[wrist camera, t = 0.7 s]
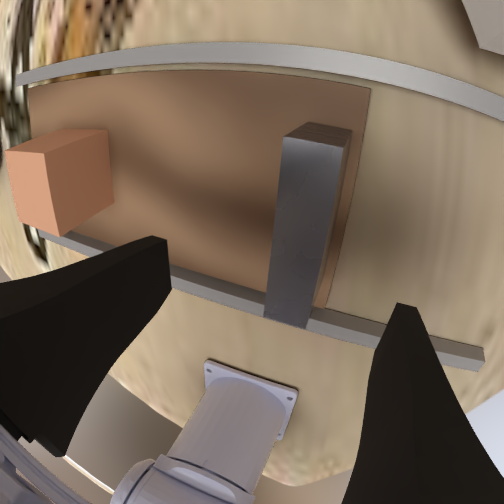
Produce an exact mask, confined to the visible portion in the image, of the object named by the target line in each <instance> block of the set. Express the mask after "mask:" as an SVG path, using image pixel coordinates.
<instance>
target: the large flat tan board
mask: <svg viewBox="0 0 504 504" xmlns="http://www.w3.org/2000/svg"><path fill="white" fill-rule="evenodd" d="M28 95H29V110H30V122H31V132H32V139H35V138H37V137H40V136H43V135H46V134H48V133H51V132H54V131H57V130H60V129H96V130H108V142H109V156H110V167H111V177H112V186H113V195H114V203H113V204H112V205H110V206H108V207H107V208H105V209H104V210H102V211H100V212H99V213H97V214H95V215H94V216H92V217H91V218H89V219H87V220H86V221H84V222H83V223H81V224H80V225H78V226H76V227H75V228H73V229H72V231H75V232H77V233H80V234H83V235H86V236H89V237H92V238H95V239H98V240H101V241H104V242H107V243H110V244H112V245H115V246H118V247H119V246H121V245H124V244H127V243H129V242H132V241H135V240H138V239H141V238H144V237H147V236H151V235H153V236H157V237H160V238H164V239H167V243H168V255H169V263H171V264H174V265H177V266H180V267H183V268H186V269H190V270H193V271H196V272H199V273H202V274H206V275H209V276H212V277H215V278H219V279H222V280H225V281H229V282H232V283H235V284H239V285H242V286H245V287H249V288H252V289H255V290H259V291H262V292H266V296H265V305H264V313H263V317H266V318H269V319H272V320H275V321H279V322H282V323H285V324H289V325H292V326H296V327H299V328H303V329H306V327H307V324H308V321H309V318H310V315H311V313H312V310H313V307H314V306H315V307H318V308H322V309H325V305H326V302H327V298H328V295H329V291H330V287H331V283H332V279H333V276H334V272H335V268H336V264H337V260H338V256H339V252H340V248H341V243H342V239H343V235H344V231H345V226H346V222H347V217H348V213H349V208H350V203H351V199H352V194H353V189H354V184H355V179H356V174H357V169H358V163H359V158H360V152H361V147H362V141H363V135H364V129H365V123H366V116H367V110H368V103H369V96H370V88H365V87H360V86H355V85H350V84H345V83H339V82H333V81H327V80H321V79H314V78H307V77H299V76H291V75H282V74H271V73H259V72H245V71H223V70H168V71H147V72H133V73H121V74H111V75H102V76H94V77H87V78H80V79H73V80H67V81H61V82H56V83H51V84H46V85H41V86H36V87H32V88H28Z"/></svg>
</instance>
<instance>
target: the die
mask: <svg viewBox="0 0 504 504" xmlns="http://www.w3.org/2000/svg"><path fill="white" fill-rule="evenodd" d="M462 2H463V5H464V7H465V10H466V12H467V14H468V17H469V19H470V22H471V25H472V27H473V30H474V33H475V36H476V38H477V41H478V44H479V47H480V48H481V49H485V50H488V51H492V52H495V53H498V54H502V55H504V0H462Z"/></svg>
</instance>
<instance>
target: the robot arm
mask: <svg viewBox="0 0 504 504" xmlns="http://www.w3.org/2000/svg"><path fill="white" fill-rule="evenodd" d="M171 290H172V285H171V275H170V265H169V255H168V243H167V239H164V238H160V237H157V236H153V235H151V236H147V237H144V238H141V239H138V240H135V241H132V242H129V243H127V244H124V245H121V246H119V247H116V248H113V249H111V250H108V251H106V252H103V253H101V254H98V255H95V256H93V257H90V258H87V259H85V260H82V261H79V262H76V263H74V264H71V265H68V266H65V267H62V268H59V269H56V270H53V271H50V272H46V273H43V274H39V275H36V276H32V277H28V278H23V279H18V280H13V281H9V282H4V283H0V504H53V503H52V502H51V501H50V500H49V498H50V499H51V500H52V501H53V502H55V503H56V504H92V503H90V502H89V501H88V500H86V499H85V498H83V497H82V496H81V495H79V494H78V493H77V492H75V491H74V490H72V489H71V488H70V487H68V486H67V485H66V484H65V483H64V482H62V481H61V480H60V479H59V478H57V477H56V476H55V475H54V474H53V473H51V472H50V471H49V470H48V469H47V468H46V467H44V466H43V465H42V464H41V463H40V462H39V461H38V460H37V459H35V458H34V457H33V456H32V455H31V454H30V453H29V452H28V451H27V450H26V449H25V448H23V446H22V445H20V444H19V443H18V440H19V438H20V437H21V436H23V438H24V439H26V440H27V441H28V442H29V443H31V442H32V441H33V440H34V439H35V440H36V441H37V442H38V443H40V444H41V445H42V446H43V447H44V448H45V449H46V450H48V451H49V452H50V453H51V454H52V455H54V456H55V457H63V456H65V454H66V451H67V449H68V446H69V444H70V441H71V439H72V437H73V434H74V432H75V430H76V428H77V425H78V424H79V421H80V419H81V417H82V416H83V413H84V412H85V410H86V408H87V406H88V404H89V402H90V400H91V399H92V397H93V395H94V394H95V392H96V390H97V389H98V387H99V385H100V384H101V382H102V381H103V379H104V378H105V376H106V374H107V373H108V371H109V370H110V368H111V367H112V366H113V364H114V363H115V362H116V360H117V359H118V358H119V357H120V355H121V354H122V353H123V352H124V351H125V350H126V348H127V347H128V346H129V345H130V344H131V342H132V341H133V340H134V339H135V338H136V337H137V336H138V334H139V333H140V332H141V331H142V330H143V329H144V327H145V326H146V325H147V324H148V323H149V322H150V320H151V319H152V318H153V317H154V316H155V314H156V313H157V312H158V310H159V309H160V307H161V306H162V304H163V303H164V301H165V300H166V298H167V296H168V295H169V293H170V292H171ZM204 375H205V388H206V392H205V394H204V395H203V397H202V399H201V400H200V402H199V404H198V405H197V407H196V408H195V410H194V412H193V413H192V415H191V417H190V418H189V420H188V422H187V423H186V425H185V426H184V428H183V430H182V431H181V433H180V435H179V436H178V438H177V439H176V441H175V442H174V444H173V446H172V447H171V449H170V450H169V452H168V454H167V455H166V456H164V455H163V454H160V456H159V457H158V459H157V461H154V460H153V459H147V460H145V461H140V462H138V463H136V464H135V465H134V466H133V467H132V468H131V469H130V470H129V471H128V472H127V474H126V475H125V476H124V477H123V479H122V480H121V482H120V483H119V485H118V486H117V488H116V490H115V492H114V494H113V496H112V499H111V501H110V504H252V503H253V501H254V499H255V496H253V495H252V494H253V492H254V490H255V487H256V485H257V483H258V481H259V479H260V476H261V474H262V472H263V469H264V467H265V465H266V463H267V460H268V458H269V456H270V453H271V451H272V448H273V446H274V444H275V441H276V440H282V438H283V435H284V432H285V430H286V427H287V424H288V422H289V419H290V416H291V413H292V410H293V407H294V405H295V402H296V399H297V396H298V392H297V390H295V389H293V388H289V387H286V386H283V385H280V384H277V383H273V382H270V381H267V380H264V379H261V378H258V377H255V376H252V375H249V374H247V373H244V372H241V371H238V370H235V369H232V368H230V367H227V366H224V365H221V364H219V363H216V362H213V361H211V360H206V361H205V363H204ZM16 468H17V469H18V470H19V471H20V472H21V473H22V474H23V475H25V477H26V478H28V479H29V480H30V481H31V482H32V483H33V484H34V485H35V486H36V487H37V488H38V489H39V490H41V491H42V492H43V493H44V494H45V495H47V496H45V495H44V494H43V493H42V492H40V491H39V490H38V489H37V488H35V487H34V486H32V485H31V484H30V483H29V482H27V481H26V480H25V479H23V478H22V477H21V476H19V475H18V474H17V473H16ZM48 497H49V498H48ZM342 504H504V478H503V476H502V475H501V474H500V472H499V471H498V469H497V468H496V466H495V465H494V463H493V462H492V460H491V459H490V457H489V455H488V454H487V452H486V450H485V449H484V447H483V446H482V444H481V442H480V441H479V439H478V437H477V436H476V434H475V432H474V431H473V429H472V427H471V425H470V423H469V421H468V419H467V417H466V415H465V414H464V412H463V410H462V408H461V406H460V404H459V402H458V400H457V398H456V396H455V394H454V392H453V390H452V388H451V385H450V383H449V381H448V379H447V377H446V375H445V373H444V370H443V368H442V366H441V363H440V361H439V359H438V356H437V354H436V352H435V349H434V347H433V345H432V342H431V340H430V337H429V335H428V333H427V330H426V328H425V325H424V323H423V321H422V318H421V316H420V314H419V312H418V309H417V307H413V306H409V305H405V304H401V303H398V302H397V304H396V306H395V308H394V311H393V313H392V315H391V317H390V320H389V322H388V324H387V326H386V328H385V330H384V333H383V335H382V337H381V339H380V341H379V343H378V345H377V347H376V349H375V352H374V357H373V361H372V366H371V371H370V375H369V380H368V387H367V396H366V404H365V411H364V419H363V426H362V432H361V439H360V445H359V450H358V454H357V458H356V462H355V465H354V469H353V472H352V475H351V478H350V481H349V484H348V487H347V490H346V493H345V496H344V498H343V501H342Z"/></svg>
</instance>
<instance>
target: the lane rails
mask: <svg viewBox="0 0 504 504" xmlns="http://www.w3.org/2000/svg"><path fill="white" fill-rule="evenodd" d="M169 63H242V64H259V65H272V66H283V67H293V68H302V69H310V70H317V71H324V72H330V73H337V74H342V75H348V76H353V77H359V78H364V79H369V80H373V81H378V82H382V83H387V84H391V85H395V86H399V87H403V88H407V89H410V90H414V91H418V92H421V93H425V94H428V95H432V96H435V97H438V98H441V99H444V100H447V101H450V102H453V103H456V104H459V105H462V106H465V107H468V108H471V109H473V110H476V111H479V112H481V113H484V114H486V115H489V116H491V117H494V118H496V119H499V120H501V121H503V122H504V98H503V97H501V96H498V95H496V94H494V93H491V92H489V91H486V90H484V89H481V88H479V87H476V86H473V85H471V84H468V83H465V82H462V81H460V80H457V79H454V78H451V77H448V76H445V75H441V74H438V73H435V72H432V71H428V70H425V69H421V68H418V67H414V66H410V65H406V64H402V63H398V62H394V61H390V60H386V59H381V58H376V57H372V56H367V55H361V54H356V53H350V52H344V51H338V50H331V49H324V48H316V47H307V46H297V45H286V44H272V43H249V42H206V43H184V44H170V45H158V46H149V47H140V48H132V49H125V50H119V51H112V52H106V53H101V54H95V55H90V56H85V57H81V58H76V59H72V60H67V61H63V62H59V63H55V64H51V65H48V66H44V67H40V68H37V69H34V70H30V71H27V72H24V73H21V74H17V75H16V87H17V86H21V85H25V84H29V83H33V82H37V81H41V80H46V79H50V78H55V77H60V76H65V75H71V74H76V73H82V72H89V71H95V70H102V69H110V68H118V67H128V66H139V65H151V64H169ZM38 232H39V235H40V237H43V238H45V239H47V240H50V241H52V242H55V243H57V244H59V245H62V246H64V247H67V248H69V249H71V250H74V251H76V252H79V253H81V254H84V255H86V256H89V257H93V256H95V255H98V254H101V253H103V252H106V251H108V250H111V249H113V248H116V247H118V246H115V245H112V244H110V243H107V242H104V241H101V240H98V239H95V238H92V237H89V236H86V235H83V234H80V233H77V232H75V231H72V230H70V231H69V232H67V233H66V234H64V235H63V236H61V237H57V236H55V235H52V234H50V233H47V232H45V231H42V230H40V229H38ZM169 265H170V275H171V285H172V288H175V289H178V290H181V291H183V292H186V293H189V294H192V295H195V296H198V297H201V298H204V299H207V300H210V301H213V302H216V303H219V304H222V305H225V306H228V307H231V308H234V309H238V310H241V311H244V312H247V313H250V314H253V315H257V316H260V317H263V313H264V305H265V296H266V292H262V291H259V290H255V289H252V288H249V287H245V286H242V285H239V284H235V283H232V282H229V281H225V280H222V279H219V278H215V277H212V276H209V275H206V274H202V273H199V272H196V271H193V270H190V269H186V268H183V267H180V266H177V265H174V264H171V263H169ZM263 318H266V317H263ZM266 319H269V318H266ZM270 320H272V319H270ZM273 321H275V320H273ZM276 322H279V321H276ZM279 323H282V322H279ZM283 324H285V323H283ZM286 325H289V324H286ZM290 326H292V325H290ZM386 326H387V325H385V324H382V323H378V322H374V321H370V320H366V319H362V318H359V317H355V316H351V315H347V314H344V313H340V312H336V311H333V310H329V309H322V308H318V307H315V306H314V307H313V310H312V313H311V315H310V318H309V321H308V324H307V327H306V329H303V328H300V329H303V330H307V331H310V332H314V333H317V334H321V335H324V336H328V337H332V338H335V339H339V340H343V341H346V342H350V343H354V344H358V345H362V346H365V347H369V348H373V349H376V347H377V345H378V343H379V341H380V339H381V337H382V335H383V333H384V330H385V328H386ZM293 327H296V326H293ZM296 328H299V327H296ZM429 337H430V340H431V342H432V345H433V347H434V349H435V352H436V354H437V356H438V359H439V361H440V363H441V365H446V366H450V367H455V368H460V369H465V370H470V371H475V372H478V371H479V369H480V368H481V367H482V366H483V364H484V363H485V357H484V352H483V348H480V347H476V346H471V345H467V344H463V343H459V342H454V341H450V340H446V339H442V338H437V337H433V336H429Z"/></svg>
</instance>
